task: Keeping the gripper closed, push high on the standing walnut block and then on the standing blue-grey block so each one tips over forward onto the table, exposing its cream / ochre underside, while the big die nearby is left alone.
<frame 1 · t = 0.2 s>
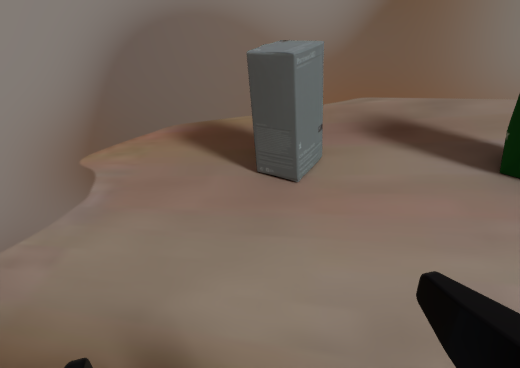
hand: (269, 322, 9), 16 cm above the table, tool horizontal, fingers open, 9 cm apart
skincare box: (288, 164, 50), on the table
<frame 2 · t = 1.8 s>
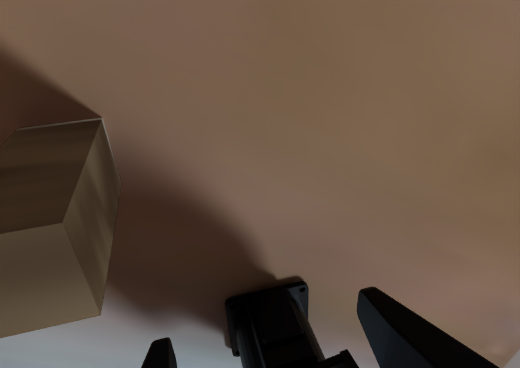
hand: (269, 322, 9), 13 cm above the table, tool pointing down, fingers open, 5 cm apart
walnut block: (73, 158, 19), on the table
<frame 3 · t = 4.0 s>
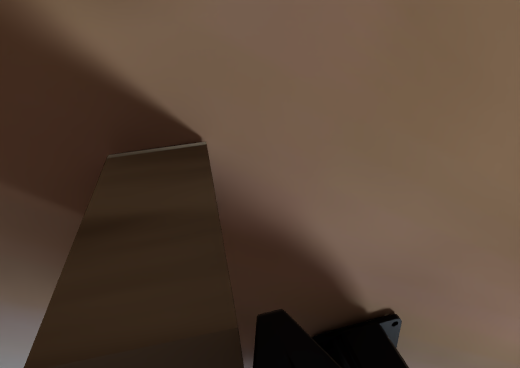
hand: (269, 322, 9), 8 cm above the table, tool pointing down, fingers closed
walnut block: (167, 189, 16), on the table, touching gripper
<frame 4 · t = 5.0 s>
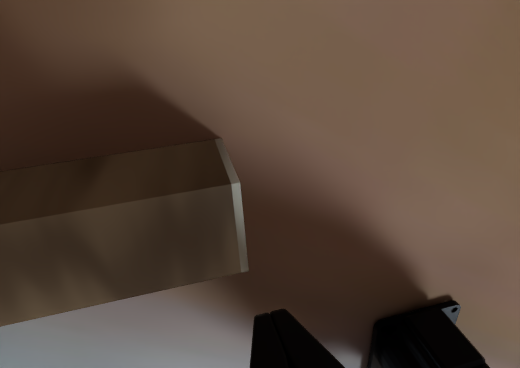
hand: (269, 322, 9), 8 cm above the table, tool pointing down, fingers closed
walnut block: (234, 201, 15), point 2 cm above the table, tilted 90°
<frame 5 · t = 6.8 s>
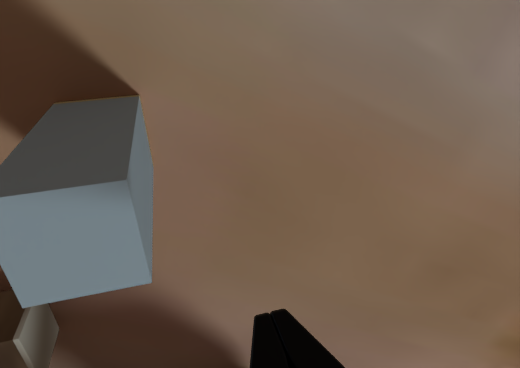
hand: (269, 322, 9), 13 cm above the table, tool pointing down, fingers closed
walnut block: (41, 332, 21), point 2 cm above the table, tilted 90°
blue-grey block: (107, 136, 19), on the table
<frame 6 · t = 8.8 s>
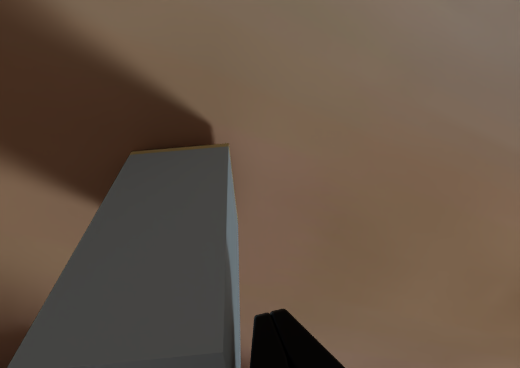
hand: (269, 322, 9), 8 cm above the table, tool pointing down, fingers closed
blue-grey block: (188, 188, 16), on the table, tilted 11°
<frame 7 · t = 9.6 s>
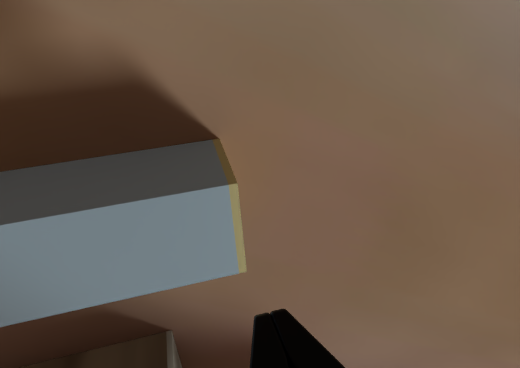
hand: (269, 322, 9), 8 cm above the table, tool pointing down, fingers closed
blue-grey block: (232, 201, 15), point 2 cm above the table, tilted 90°
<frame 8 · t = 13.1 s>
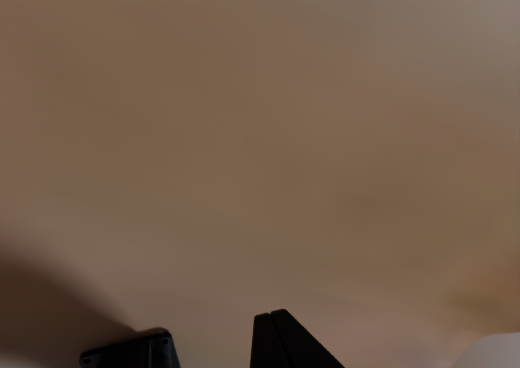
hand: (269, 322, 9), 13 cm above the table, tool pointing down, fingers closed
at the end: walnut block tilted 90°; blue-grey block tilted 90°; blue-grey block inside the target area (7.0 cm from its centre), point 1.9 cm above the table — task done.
